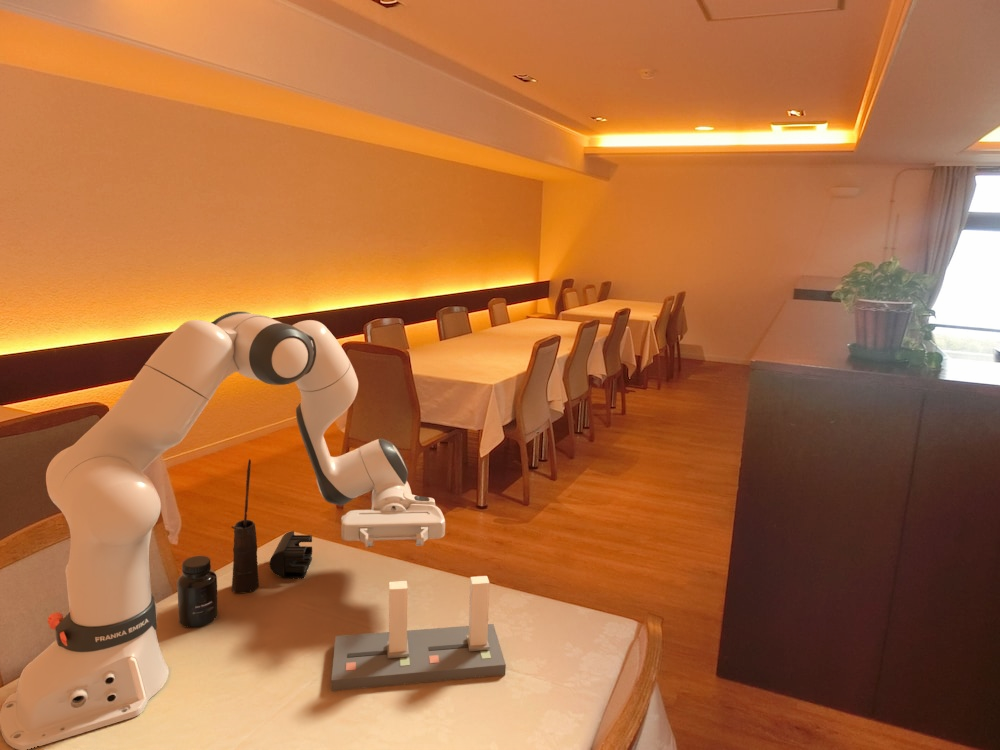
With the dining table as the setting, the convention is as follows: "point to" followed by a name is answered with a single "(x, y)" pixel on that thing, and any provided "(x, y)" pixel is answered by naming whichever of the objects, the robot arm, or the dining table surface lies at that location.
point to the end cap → (291, 556)
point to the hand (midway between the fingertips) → (394, 542)
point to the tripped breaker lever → (397, 620)
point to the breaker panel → (413, 659)
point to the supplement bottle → (197, 593)
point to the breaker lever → (478, 614)
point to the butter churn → (245, 552)
